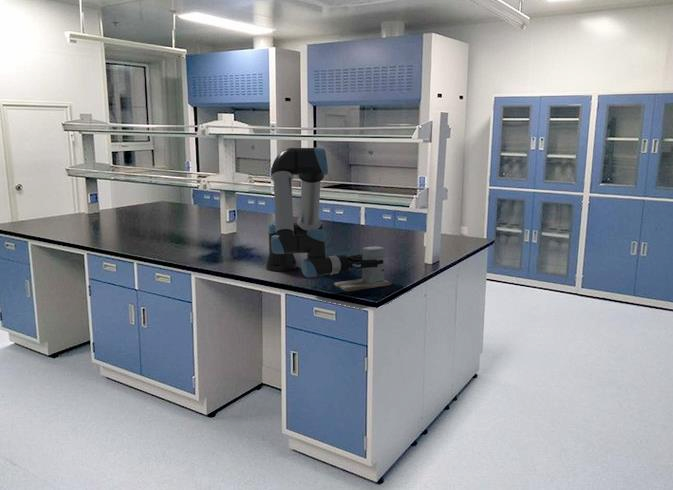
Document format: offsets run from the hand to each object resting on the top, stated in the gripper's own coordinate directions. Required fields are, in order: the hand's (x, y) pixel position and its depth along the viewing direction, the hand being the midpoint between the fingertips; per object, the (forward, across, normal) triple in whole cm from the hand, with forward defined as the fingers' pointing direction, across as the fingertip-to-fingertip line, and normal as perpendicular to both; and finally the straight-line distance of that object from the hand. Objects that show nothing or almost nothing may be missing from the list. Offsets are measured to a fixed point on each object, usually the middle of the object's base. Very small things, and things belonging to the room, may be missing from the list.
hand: (382, 258), depth 241 cm
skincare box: (-5, 0, -10) cm, 11 cm away
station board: (-10, 0, -11) cm, 15 cm away
